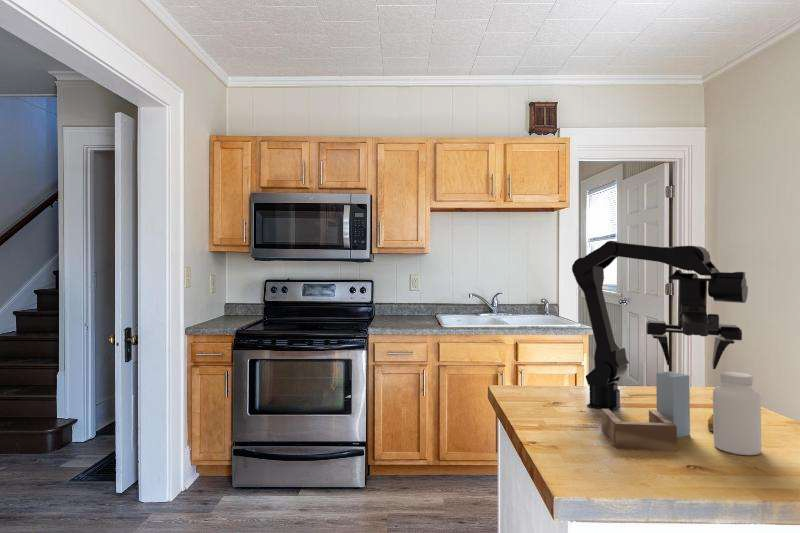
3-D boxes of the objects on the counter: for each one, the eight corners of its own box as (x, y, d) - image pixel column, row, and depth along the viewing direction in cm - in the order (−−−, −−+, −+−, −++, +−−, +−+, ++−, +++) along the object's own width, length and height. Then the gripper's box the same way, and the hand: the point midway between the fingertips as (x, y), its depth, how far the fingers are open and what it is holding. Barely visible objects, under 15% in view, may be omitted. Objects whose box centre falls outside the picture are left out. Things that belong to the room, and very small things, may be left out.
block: (656, 431, 110) (656, 372, 110) (672, 429, 111) (672, 371, 111) (673, 437, 106) (673, 377, 106) (690, 435, 107) (689, 375, 107)
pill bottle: (753, 444, 101) (752, 371, 101) (767, 458, 94) (767, 379, 94) (708, 440, 104) (708, 369, 104) (719, 454, 96) (718, 377, 96)
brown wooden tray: (601, 431, 110) (601, 408, 110) (656, 432, 109) (656, 410, 109) (616, 448, 100) (616, 423, 100) (677, 450, 98) (676, 425, 98)
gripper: (649, 300, 111) (647, 369, 111) (748, 304, 104) (746, 379, 104) (646, 297, 121) (645, 360, 122) (737, 300, 114) (735, 368, 114)
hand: (690, 366), depth 115 cm, fingers open, 9 cm apart
